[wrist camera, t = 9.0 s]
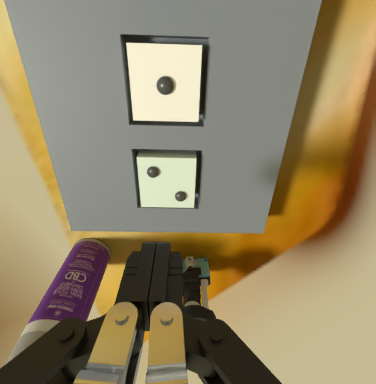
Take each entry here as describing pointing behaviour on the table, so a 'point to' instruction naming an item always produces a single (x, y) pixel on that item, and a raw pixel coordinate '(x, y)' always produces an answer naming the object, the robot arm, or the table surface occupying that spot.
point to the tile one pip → (164, 81)
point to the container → (68, 291)
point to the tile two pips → (167, 178)
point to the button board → (165, 130)
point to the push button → (196, 288)
